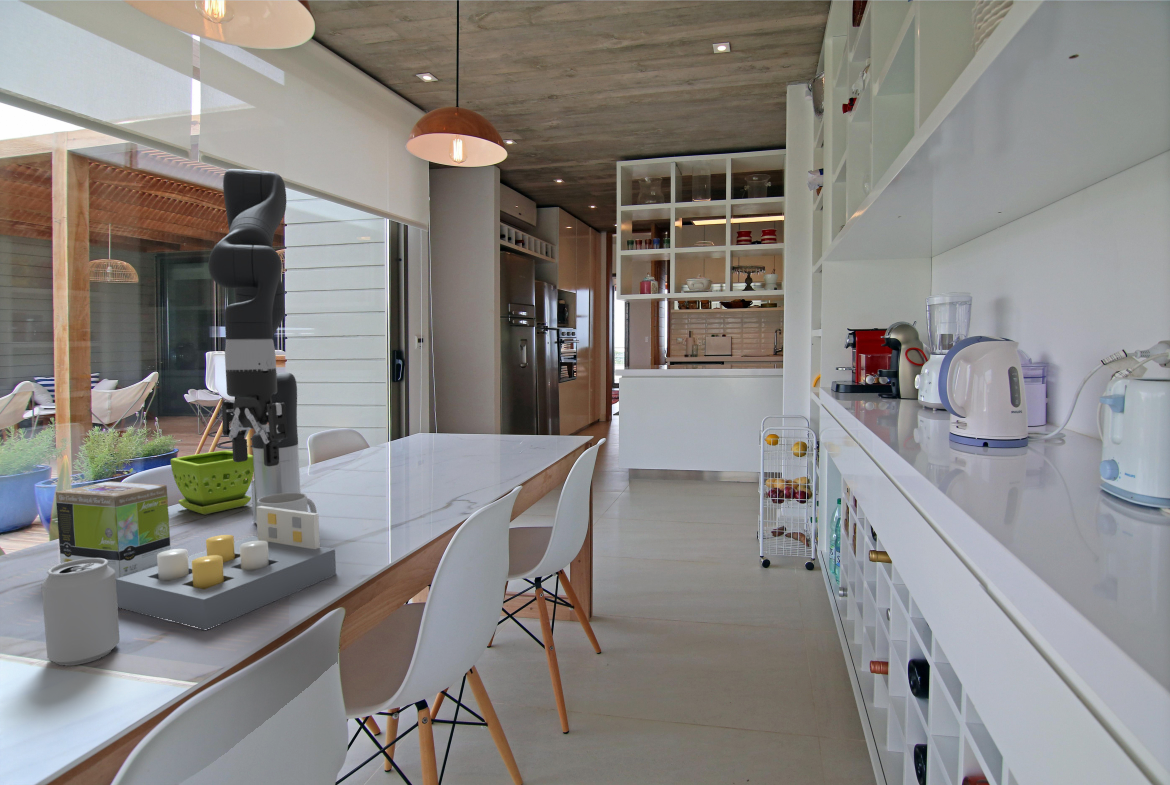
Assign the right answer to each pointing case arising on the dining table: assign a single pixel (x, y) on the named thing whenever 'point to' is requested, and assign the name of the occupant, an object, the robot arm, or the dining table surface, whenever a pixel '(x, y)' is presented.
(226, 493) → the flower pot
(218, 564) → the amber button
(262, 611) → the dining table surface
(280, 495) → the mug
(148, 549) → the tea box
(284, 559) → the console
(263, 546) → the cream button
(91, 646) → the can
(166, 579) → the cream button
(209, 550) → the amber button
